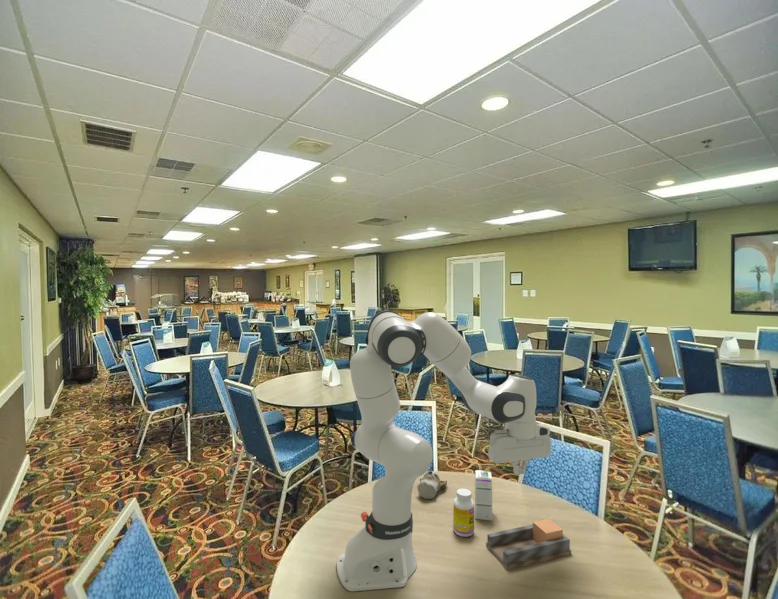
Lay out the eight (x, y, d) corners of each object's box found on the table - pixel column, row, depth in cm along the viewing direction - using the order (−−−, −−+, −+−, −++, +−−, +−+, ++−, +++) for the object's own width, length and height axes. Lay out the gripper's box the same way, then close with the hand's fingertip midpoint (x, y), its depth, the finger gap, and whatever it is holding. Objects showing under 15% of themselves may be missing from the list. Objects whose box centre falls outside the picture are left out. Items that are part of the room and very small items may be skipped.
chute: (507, 570, 107) (507, 556, 107) (486, 545, 118) (486, 532, 118) (571, 554, 114) (571, 540, 114) (545, 532, 125) (545, 520, 125)
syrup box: (492, 521, 131) (493, 478, 130) (474, 518, 132) (475, 476, 132) (491, 511, 136) (491, 470, 136) (474, 509, 138) (474, 469, 137)
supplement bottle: (470, 540, 121) (471, 499, 120) (450, 534, 124) (450, 494, 123) (476, 528, 126) (476, 489, 126) (456, 523, 130) (457, 485, 129)
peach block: (546, 550, 114) (546, 533, 114) (532, 537, 120) (532, 522, 120) (562, 546, 116) (562, 529, 116) (548, 534, 122) (548, 518, 122)
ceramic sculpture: (411, 475, 145) (423, 461, 158) (410, 498, 144) (422, 483, 158) (439, 481, 141) (449, 466, 154) (438, 505, 140) (448, 488, 154)
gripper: (496, 434, 111) (495, 482, 111) (554, 428, 117) (553, 474, 117) (484, 427, 117) (483, 472, 117) (540, 422, 123) (539, 465, 123)
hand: (519, 473), depth 117 cm, fingers closed
